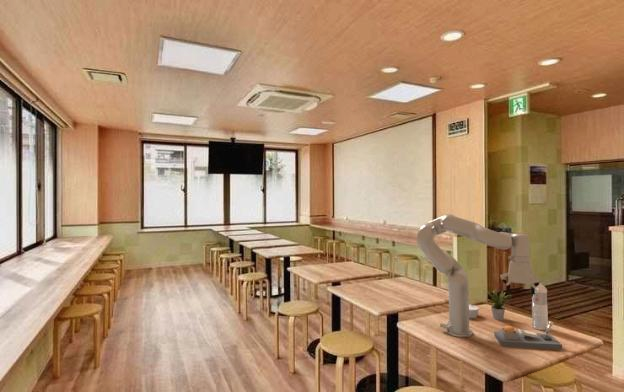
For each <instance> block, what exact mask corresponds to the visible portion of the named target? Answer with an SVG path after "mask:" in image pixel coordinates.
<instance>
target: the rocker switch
mask: <svg viewBox="0 0 624 392" xmlns="http://www.w3.org/2000/svg"><path fill="white" fill-rule="evenodd" d="M517 332H519V333H520V334H521V335H526V336H531V337H535V338H537V337H538V335H537V334H536V333H537V332H534V331H532V330H526V329H521V328H518V329H517Z"/></svg>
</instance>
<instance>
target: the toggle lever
mask: <svg viewBox="0 0 624 392" xmlns="http://www.w3.org/2000/svg"><path fill="white" fill-rule="evenodd" d="M553 325H554V322H553V321H552V320H550V321H548V327H547V330H545V332H544V333H543V334H544V335H545V336H548V334H550V330H551V328H552V326H553Z"/></svg>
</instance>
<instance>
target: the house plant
mask: <svg viewBox="0 0 624 392" xmlns="http://www.w3.org/2000/svg"><path fill="white" fill-rule="evenodd" d="M498 294H499V295H498ZM505 294H507V291H505V292H504V290H501V292H500V293H498V291H497V290H494V289H493V292H492V293H490V292H488V295H489V297H490V298H491V299H492V300H491V299H490V298H489V299H488V298H486V299H485V300H486V301H490V302H491V306H490V309H491V314H492V318H493V319H494V320H496V321H503V320H504V318H505V311H506V308H505V307H503V306H504V305H505V306H508V304H509V300H507V299H508V297H511V294H507V295H506V296H505Z"/></svg>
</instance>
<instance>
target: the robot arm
mask: <svg viewBox="0 0 624 392" xmlns="http://www.w3.org/2000/svg"><path fill="white" fill-rule="evenodd" d="M445 232H449V233H453V234H455V235H459V236H461V237H465V238H467V239H470V240H472V241H474V242H475V241H476V242H478V243H481V244H484V245H487V246H490V247H493V248H495V249H498V250H499V249H500V250H501V251H502V250H503V251H504V250H509V249H511V255H508V256H507V259H510V261H509V263H508V272H505V273H502V274H500V275H499V277H500V279H501V281H502V282H503V283H504V284H505V285H506V288H505V289H506V291H505V292H506V293H507V295H511V284H512V283H513V284H523V285H530V296H531V297H532V296H533V294H535V288H536V287H537V286H538V285H539V284H540V282H541V283H542V278H541V277H539V276H536V275H535V274H534V270H533V264H532V262H531V261H530V253H531V251H530V245H531V243H530V242H531V241H530V240H531V237H530V235H529V234H527V233H521V232H520V233H519V232H518V233H512V232H511V233H510V232H505V231H500V232H498V231H495V230H492V229H489V228H486V227H484V226H482V225H481V224H479V223H477V222H475V221H472V220H468V219H465V218H461V217H458V216H455V215H454V214H452V213H447V214H444V215H442V216H440V217H438V218H435V219H432V220H430V221H428V222H425V223H424V224H422V225H421V226H420V227H419V230H418V231H417V234H416V243H417V244H416V245H417V246H418V248H419V250H420V251H421V252H422V253H423V255H424V256H425V257H426V259H427V260H428V261H429V262H430V263H431V265H433V267H434V268H435V270H437V271H438V272H439V273H441V274H444V275H445V276H446V277H447V289H448V313H449V314H448V316H449V318H448V319H449V321H447V322H446V323H439V327H440V328H442V329H443V330H446V333H447V334H449V335H451V336H452V337H453V336H454V337H456V338H469V337H472V336H473V333H474V331H473V330H472V329H471V328H470V318H469V304H470V303H469V302H470V300H469V274H468V273H467V271H466V270H465V269H464V268H463V266H461V264H460V263H459V262H458V261H457V260H456V258H454V257H453V256H452V254H451V253H448V252H444V251H443V250H442V248H441V247H440V246H439V244H437V243H436V242H435V240H434V239H435V237H437V236H439V235H441V234H444V233H445ZM505 277H508V280H506V279H505ZM534 279H535V280H536V282H534Z"/></svg>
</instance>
